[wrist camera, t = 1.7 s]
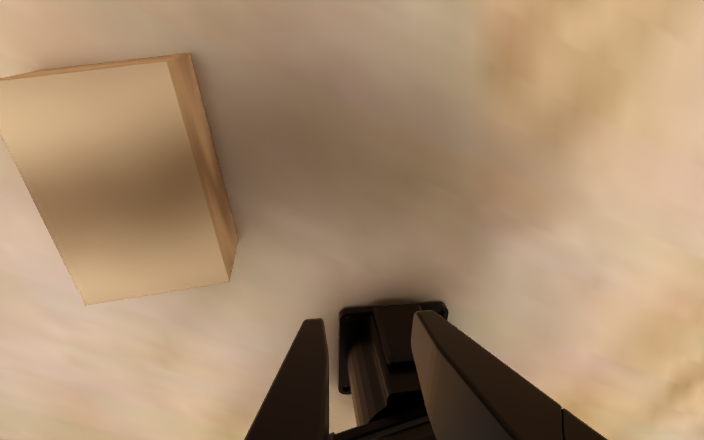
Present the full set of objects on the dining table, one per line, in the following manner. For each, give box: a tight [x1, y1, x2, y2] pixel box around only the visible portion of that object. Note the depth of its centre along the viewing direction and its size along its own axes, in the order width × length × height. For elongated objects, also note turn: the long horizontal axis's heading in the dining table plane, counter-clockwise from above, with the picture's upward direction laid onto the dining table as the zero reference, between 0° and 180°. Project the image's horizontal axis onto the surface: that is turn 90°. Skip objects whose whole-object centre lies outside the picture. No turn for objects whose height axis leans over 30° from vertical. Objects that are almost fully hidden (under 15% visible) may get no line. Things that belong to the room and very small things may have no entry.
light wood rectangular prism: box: [0, 53, 238, 306], centre depth 17 cm, size 9×6×4 cm, turn 6°
